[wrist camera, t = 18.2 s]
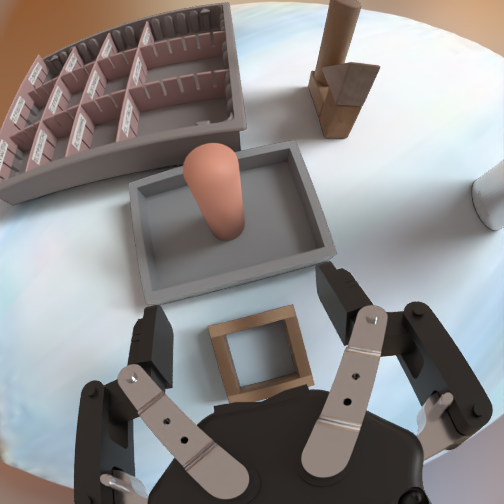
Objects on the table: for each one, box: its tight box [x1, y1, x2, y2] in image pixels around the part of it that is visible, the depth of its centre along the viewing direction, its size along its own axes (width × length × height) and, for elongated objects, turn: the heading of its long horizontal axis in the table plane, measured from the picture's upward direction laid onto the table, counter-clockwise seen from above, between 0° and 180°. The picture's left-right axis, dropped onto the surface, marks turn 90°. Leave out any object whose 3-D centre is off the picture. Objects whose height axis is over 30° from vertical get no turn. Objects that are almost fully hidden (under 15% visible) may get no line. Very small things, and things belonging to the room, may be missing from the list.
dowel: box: [183, 143, 245, 241], centre depth 25 cm, size 4×4×13 cm
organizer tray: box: [0, 2, 247, 205], centre depth 33 cm, size 32×40×10 cm
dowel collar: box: [208, 304, 314, 403], centre depth 28 cm, size 9×9×3 cm
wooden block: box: [308, 0, 380, 138], centre depth 28 cm, size 4×11×18 cm, turn 6°
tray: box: [129, 140, 337, 305], centre depth 31 cm, size 20×14×4 cm
